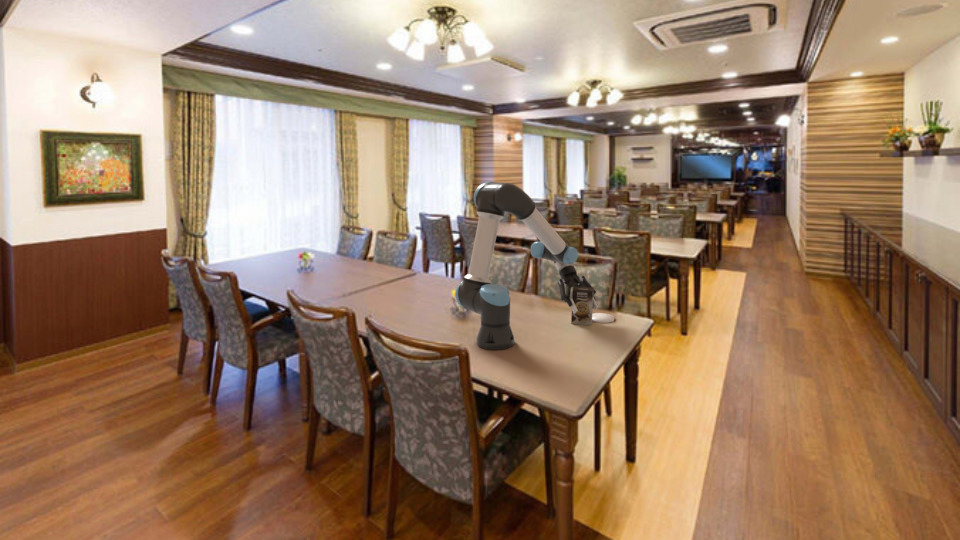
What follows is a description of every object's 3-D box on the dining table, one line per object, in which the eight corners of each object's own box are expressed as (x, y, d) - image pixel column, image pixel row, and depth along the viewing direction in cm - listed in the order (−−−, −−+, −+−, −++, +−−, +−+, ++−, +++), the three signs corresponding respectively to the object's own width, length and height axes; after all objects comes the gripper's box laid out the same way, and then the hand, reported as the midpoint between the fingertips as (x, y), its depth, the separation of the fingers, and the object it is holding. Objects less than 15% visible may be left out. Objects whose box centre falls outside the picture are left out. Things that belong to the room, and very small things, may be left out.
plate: (599, 324, 218) (599, 322, 218) (582, 317, 228) (582, 315, 228) (620, 320, 223) (620, 318, 223) (602, 313, 233) (602, 311, 233)
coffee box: (570, 324, 219) (571, 289, 215) (572, 319, 225) (573, 285, 221) (591, 325, 216) (593, 290, 213) (592, 321, 222) (593, 286, 219)
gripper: (582, 270, 235) (602, 310, 225) (541, 276, 225) (560, 318, 215) (589, 262, 229) (610, 302, 219) (548, 267, 219) (568, 309, 209)
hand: (586, 310), depth 217 cm, fingers closed on coffee box, 10 cm apart
